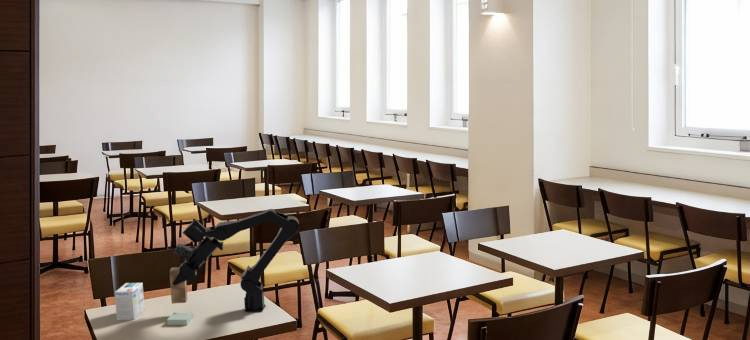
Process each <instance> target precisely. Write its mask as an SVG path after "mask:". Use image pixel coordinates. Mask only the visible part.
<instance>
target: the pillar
mask: <svg viewBox="0 0 750 340" xmlns="http://www.w3.org/2000/svg"><path fill="white" fill-rule="evenodd" d="M179 267H180V266H179ZM179 267H178V266H175V267H171V268H170V270H169V285H170V297H171V299H170V300H171V304H172V305H173V304H185V303H187V301H188V286H187V280H186V281H184V282H181V283H179V284H177V285H173V282H174V280H175V279H176V277H177V275H178V274H179V272H180V271H179Z"/></svg>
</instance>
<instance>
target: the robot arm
mask: <svg viewBox="0 0 750 340" xmlns="http://www.w3.org/2000/svg"><path fill="white" fill-rule="evenodd" d="M266 223H272V224H274V225H275V226H277V227H278V228H279V230H278V232H277V235H276V236H275V237H274V239H273V240H272V242H270V244H269V245H268V247H267V248H266V249H265V251H264V252H263V254H261V256H260V257H259V259H258V260H257V262H256V263H255V264H254V265H252V266H250V265H247V266H246V269H245V270H244V271H243V272H242V273H241V275H240V284H239V285H240V288H241V289H242V291H244V292H245V296H244V298H243V299H244V301H243V302H244V308H245V310H244V311H245V312H263V310H265V308H266V307H267V306H266V304H265V291H263V283H262V282H261V281H260V279H261V277H262V274H263V272H264V271H265V270H266V268H267V267H268V266H269V264H271V262H272V261H273V260H274V258H275V256H277V254H278V252H279V251H280V250H281V249H282V247H283V246H284V245H285V243H287V242H288V241H289V240H290V239H292V238H293V237H294V236H295V235H297V233H298V232H299V230H300V222H299V219H298V218H297V216H293V215H287V214H285V213H282V212H279V211H276V210H274V209H273V208H268V209H267V210H264V211H262V212H259V213H256V214H252V215H250V216H246V217H244V218H241V219H238V220H228V221H223V222H222V221H221V222H217V224H216V225H213V226H209V227H205V226H204V225H203V224H202V223H200V221H198V220H197V219H196V218H195V219H194V220H193V221H192V222H191V223H190V224H188V225H187V226H186V228H184V230H183V231H182V234H183V235H184V237H186V238H188V239H189V240H190V241H191V242H192V243H197V244H198V245H197V246H194V247H193V248H192V247H190V246H187V245H184V244H181V243H177V245H176V247H175V249H174V252H173V254H174V256H179V257H182V258H183V259H182V260H181V264H180V265H179V271H180V272H179V274H178V275H177V277H176V279H175V280H174V282H173V285H177V284H179V283H181V282H184V281H186V282H187V281H189V280H194V278H195V277H196V276H197V274H198V273H197V270H199V269H200V267H201V266H202V265H203V264H204V263H206V262H207V261H208V259H209V257H210V256H211V255H212V254H213V253H214V252H215V251H216V250H217V249H218V250H220V251H221V252H222V251H223V250H224V243H225V242H224V241H227V240H228V239H230V238H233V236H235V235H236V234H238V233H240V232H243V231H245V230H246V231H247V230H248V229H251V228H255V227H257V226H260V225H263V224H266Z"/></svg>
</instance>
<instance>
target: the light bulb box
mask: <svg viewBox="0 0 750 340" xmlns="http://www.w3.org/2000/svg"><path fill="white" fill-rule="evenodd" d="M143 285H144V284H143V282H125V283H123V285H121V286H120V287H119V288H118V289H117V290H115V291H114V299H115V300H114V301H115V314H116V321H128V320H129V321H130V320H131V321H134V320H135V319H136V318H137V317H138V316H139V315H141V314H142V313H143V312H144V311H145V300H144V299H145V298H144V286H143Z"/></svg>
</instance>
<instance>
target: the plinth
mask: <svg viewBox="0 0 750 340" xmlns="http://www.w3.org/2000/svg"><path fill="white" fill-rule="evenodd" d="M193 319H194V312H173V313H172V314H171V315H170V316H169V317H168V318H167V319H166V320H167V321H166V324H167V326H188V325H189V324H190V322H191V321H192V320H193Z"/></svg>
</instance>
